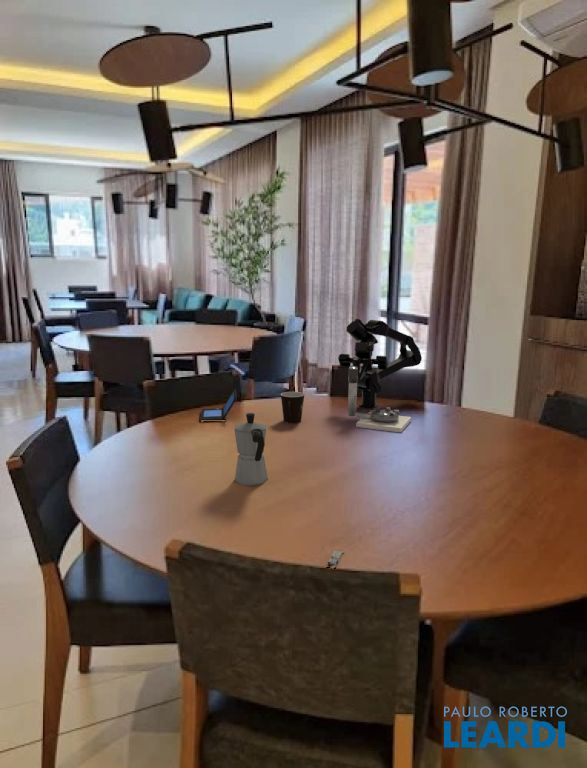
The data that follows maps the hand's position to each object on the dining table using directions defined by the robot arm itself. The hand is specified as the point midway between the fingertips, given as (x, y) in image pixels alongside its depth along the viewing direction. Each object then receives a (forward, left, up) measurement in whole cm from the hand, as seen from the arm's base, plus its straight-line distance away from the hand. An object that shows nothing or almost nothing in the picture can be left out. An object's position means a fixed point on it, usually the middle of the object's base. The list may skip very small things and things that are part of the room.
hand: (359, 379), depth 206 cm
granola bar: (+105, +29, -14) cm, 110 cm away
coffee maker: (+77, -4, -14) cm, 79 cm away
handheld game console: (+26, -47, -14) cm, 55 cm away
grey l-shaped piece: (+9, +9, -12) cm, 17 cm away
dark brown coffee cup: (+21, -19, -14) cm, 32 cm away
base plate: (+9, +13, -14) cm, 21 cm away
